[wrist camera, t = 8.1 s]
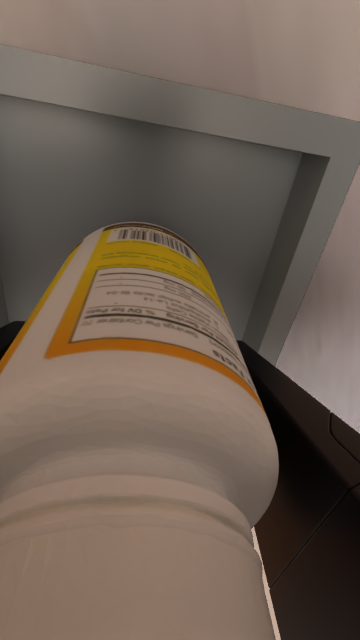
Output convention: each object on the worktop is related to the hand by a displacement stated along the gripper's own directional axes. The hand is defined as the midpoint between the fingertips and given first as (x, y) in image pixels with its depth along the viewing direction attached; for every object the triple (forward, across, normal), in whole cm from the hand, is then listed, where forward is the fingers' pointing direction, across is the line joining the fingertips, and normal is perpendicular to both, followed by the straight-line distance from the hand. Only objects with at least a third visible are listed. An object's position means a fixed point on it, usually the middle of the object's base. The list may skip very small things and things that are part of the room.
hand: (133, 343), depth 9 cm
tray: (+5, 0, 0) cm, 5 cm away
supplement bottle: (+4, 0, 0) cm, 4 cm away
